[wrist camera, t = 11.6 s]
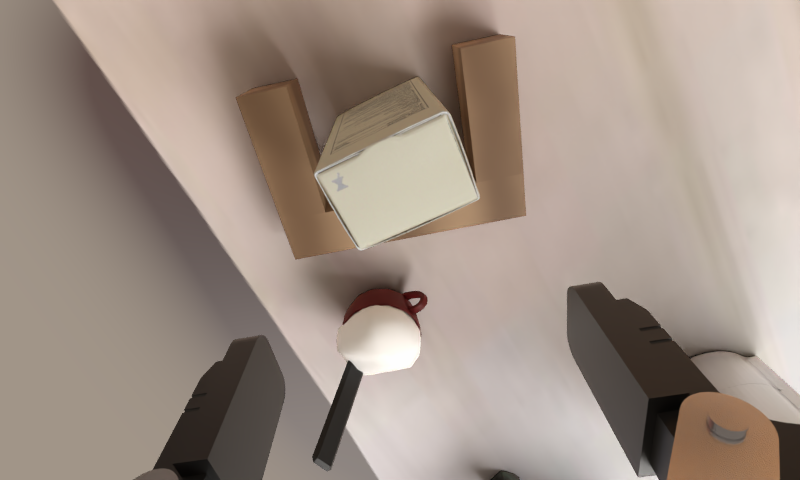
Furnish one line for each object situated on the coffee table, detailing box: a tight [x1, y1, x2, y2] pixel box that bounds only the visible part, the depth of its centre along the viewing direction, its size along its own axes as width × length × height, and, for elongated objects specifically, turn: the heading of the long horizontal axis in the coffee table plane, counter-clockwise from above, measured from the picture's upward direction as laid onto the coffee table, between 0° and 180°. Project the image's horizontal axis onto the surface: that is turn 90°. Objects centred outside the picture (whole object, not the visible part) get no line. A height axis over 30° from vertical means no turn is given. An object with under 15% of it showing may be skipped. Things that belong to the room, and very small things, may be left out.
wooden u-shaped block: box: [236, 34, 526, 259], centre depth 28 cm, size 16×11×4 cm
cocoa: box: [312, 289, 427, 471], centre depth 31 cm, size 10×6×12 cm, turn 107°
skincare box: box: [314, 77, 480, 251], centre depth 23 cm, size 6×4×12 cm
